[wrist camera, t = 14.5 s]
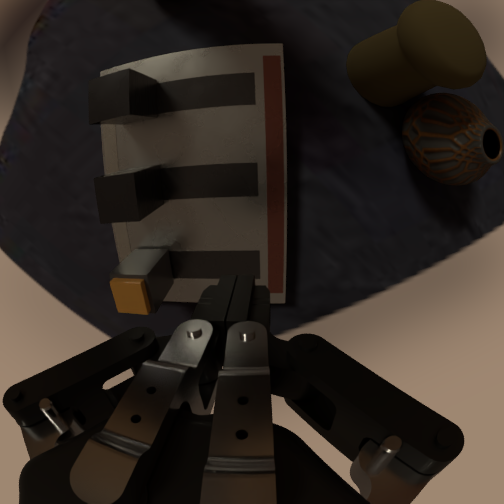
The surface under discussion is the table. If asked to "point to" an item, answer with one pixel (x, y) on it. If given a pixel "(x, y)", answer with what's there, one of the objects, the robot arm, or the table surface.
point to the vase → (450, 139)
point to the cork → (417, 55)
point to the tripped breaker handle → (142, 281)
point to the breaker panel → (197, 163)
